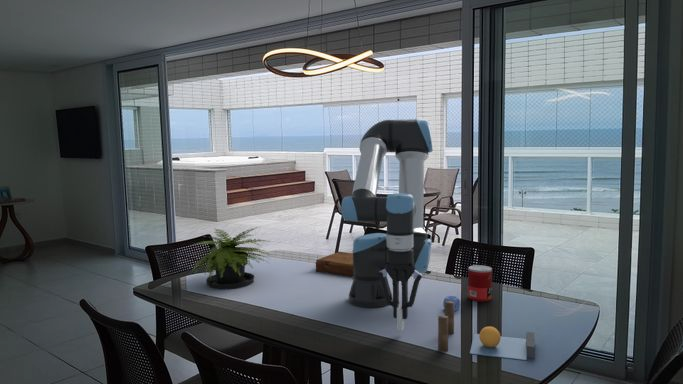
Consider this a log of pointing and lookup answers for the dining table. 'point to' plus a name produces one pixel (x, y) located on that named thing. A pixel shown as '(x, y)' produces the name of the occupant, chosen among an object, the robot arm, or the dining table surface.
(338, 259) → the brown wooden block
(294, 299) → the dining table surface
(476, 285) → the canned food
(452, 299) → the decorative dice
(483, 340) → the ball
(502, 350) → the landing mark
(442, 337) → the post
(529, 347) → the stopper wall
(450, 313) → the post
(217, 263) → the fern plant
